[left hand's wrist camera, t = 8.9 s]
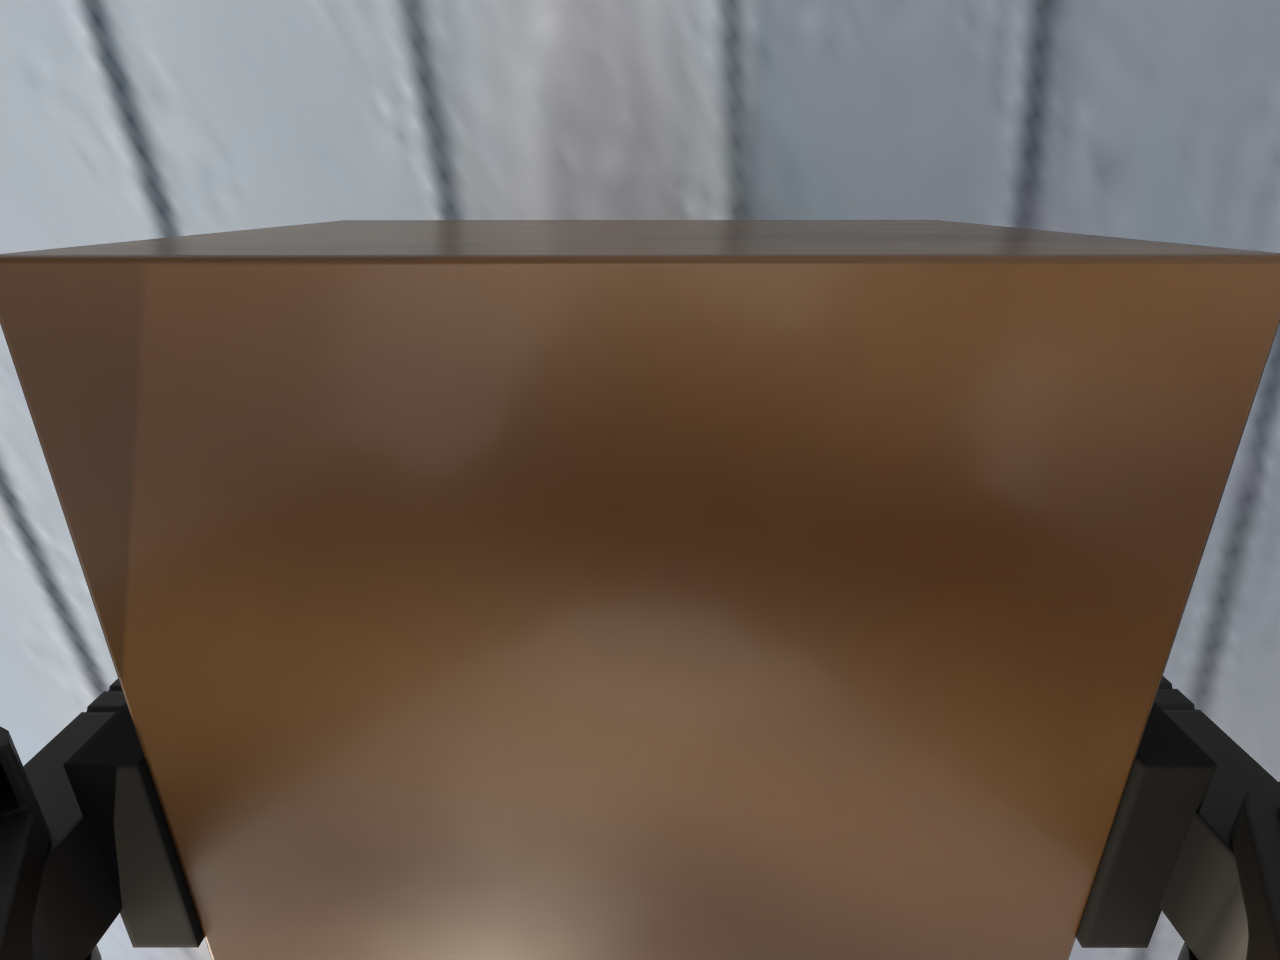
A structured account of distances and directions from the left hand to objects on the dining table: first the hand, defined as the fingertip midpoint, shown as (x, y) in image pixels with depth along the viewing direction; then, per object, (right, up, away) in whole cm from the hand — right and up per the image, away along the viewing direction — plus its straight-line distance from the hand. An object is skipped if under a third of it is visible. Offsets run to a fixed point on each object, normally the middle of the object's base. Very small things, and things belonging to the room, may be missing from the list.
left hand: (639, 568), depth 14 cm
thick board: (0, -28, +12) cm, 31 cm away
